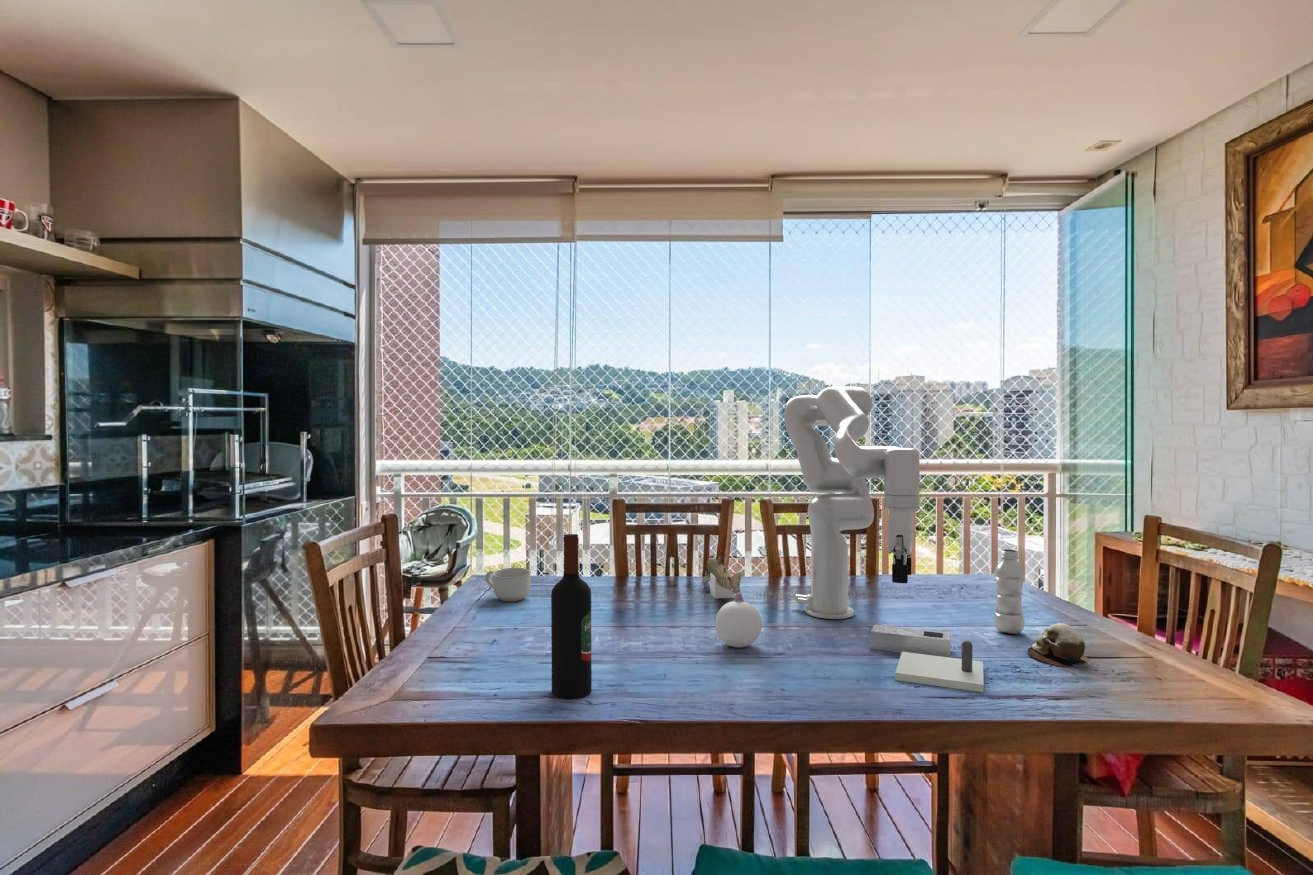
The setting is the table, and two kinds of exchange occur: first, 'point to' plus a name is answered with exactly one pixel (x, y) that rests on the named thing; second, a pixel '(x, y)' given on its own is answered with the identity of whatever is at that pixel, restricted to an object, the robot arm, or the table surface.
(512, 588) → the teacup
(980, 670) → the board
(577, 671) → the wine bottle
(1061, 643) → the skull
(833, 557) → the robot arm
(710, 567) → the wood carving
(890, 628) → the link plate
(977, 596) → the table surface
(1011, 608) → the plastic bottle
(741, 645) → the ornament
